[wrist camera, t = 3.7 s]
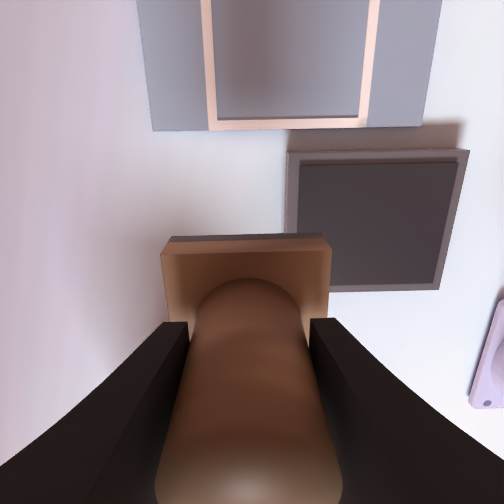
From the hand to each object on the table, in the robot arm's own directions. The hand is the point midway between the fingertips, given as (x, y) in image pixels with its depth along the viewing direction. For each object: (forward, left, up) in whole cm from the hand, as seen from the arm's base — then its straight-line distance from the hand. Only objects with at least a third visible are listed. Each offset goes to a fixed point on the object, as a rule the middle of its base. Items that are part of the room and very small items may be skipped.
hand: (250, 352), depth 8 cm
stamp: (0, 0, -3) cm, 3 cm away
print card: (-2, -9, -9) cm, 13 cm away
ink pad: (-6, -1, -9) cm, 11 cm away
